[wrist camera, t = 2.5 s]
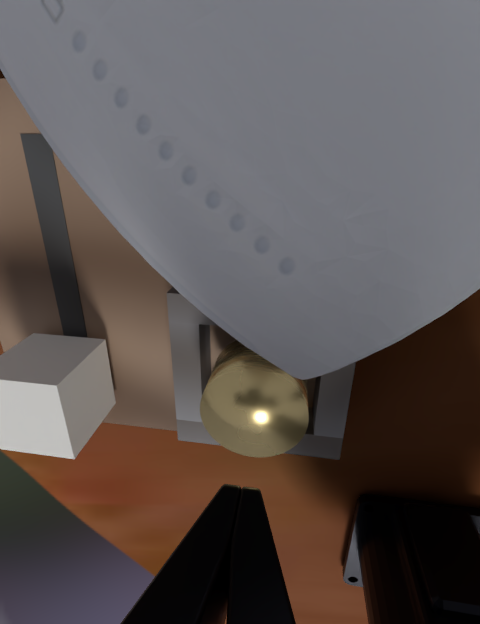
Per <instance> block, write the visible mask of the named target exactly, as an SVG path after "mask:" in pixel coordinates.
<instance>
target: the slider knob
mask: <svg viewBox="0 0 480 624" xmlns="http://www.w3.org/2000/svg"><path fill="white" fill-rule="evenodd" d="M115 403H116V401H115V395H114V389H113V383H112V377H111V371H110V365H109V358H108V352H107V346H106V340H105V339H96V338H85V337H73V336H61V335H50V334H38V333H33V334H31V335H30V336H28V337H27V338H26V339H24V340H23V341H21V342H20V343H18V344H17V345H15V346H14V347H12V348H11V349H9V350H8V351H6V352H5V353H3V354H2V355H0V449H3V450H11V451H18V452H25V453H33V454H40V455H48V456H55V457H62V458H70V459H75V458H76V456H77V455H78V454H79V452H80V451H81V450H82V448H83V447H84V445H85V444H86V443H87V441H88V440H89V439H90V437H91V436H92V435H93V433H94V432H95V431H96V429H97V428H98V426H99V425H100V424H101V422H102V421H103V420H104V418H105V417H106V416H107V414H108V413H109V412H110V410H111V409H112V407H113V406H114V405H115Z"/></svg>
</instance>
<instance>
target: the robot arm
mask: <svg viewBox="0 0 480 624" xmlns="http://www.w3.org/2000/svg"><path fill="white" fill-rule="evenodd" d="M343 579H344V581H345V583H347V584H349V585H354V586H360V587H363V589H364V596H365V603H366V610H367V616H368V623H369V624H480V509H477V508H469V507H462V506H454V505H447V504H439V503H432V502H424V501H417V500H409V499H402V498H394V497H387V496H379V495H372V494H364V495H361V496H360V497H358V499H357V503H356V508H355V513H354V517H353V522H352V527H351V532H350V537H349V541H348V546H347V551H346V556H345V561H344V566H343ZM226 615H227V624H296V623H295V619H294V615H293V612H292V608H291V604H290V600H289V596H288V593H287V589H286V585H285V581H284V578H283V574H282V570H281V566H280V562H279V559H278V555H277V551H276V547H275V544H274V540H273V536H272V532H271V528H270V525H269V521H268V517H267V513H266V509H265V506H264V502H263V498H262V494H261V491H260V490H259V489H258V488H251V487H243V488H242V490H241V487H240V486H236V485H229V484H224V485H223V486H222V487H221V488H220V489H219V491H218V492H217V493H216V495H215V496H214V497H213V499H212V500H211V502H210V503H209V504H208V506H207V507H206V508H205V510H204V511H203V512H202V514H201V515H200V516H199V518H198V519H197V521H196V522H195V523H194V525H193V526H192V527H191V529H190V530H189V531H188V533H187V534H186V536H185V537H184V538H183V540H182V541H181V542H180V544H179V545H178V546H177V548H176V549H175V550H174V552H173V553H172V555H171V556H170V557H169V559H168V560H167V561H166V563H165V564H164V565H163V567H162V568H161V569H160V571H159V572H158V574H157V575H156V576H155V578H154V579H153V581H152V582H151V583H150V584H149V586H148V587H147V589H146V590H145V591H144V593H143V594H142V595H141V597H140V598H139V599H138V601H137V602H136V603H135V605H134V606H133V608H132V609H131V610H130V612H129V613H128V614H127V616H126V617H125V618H124V620H123V621H122V622H121V624H224V623H225V619H226Z"/></svg>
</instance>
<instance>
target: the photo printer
mask: <svg viewBox="0 0 480 624" xmlns="http://www.w3.org/2000/svg"><path fill="white" fill-rule="evenodd" d="M0 69H1V71H2V73H3V75H4V77H5V78H6V80H7V81H8V83H9V85H10V86H11V88H12V89H13V91H14V92H15V94H16V96H17V97H18V99H19V100H20V102H21V103H22V105H23V107H24V108H25V110H26V111H27V113H28V114H29V116H30V118H31V119H32V121H33V122H34V124H35V125H36V127H37V128H38V130H39V131H40V132H41V134H42V135H43V137H44V138H45V139H46V141H47V142H48V144H49V145H50V147H51V148H52V149H53V151H54V152H55V154H56V155H57V157H58V158H59V159H60V161H61V162H62V164H63V165H64V166H65V167H66V169H67V170H68V171H69V173H70V174H71V175H72V176H73V178H74V179H75V180H76V181H77V183H78V184H79V185H80V187H81V188H82V189H83V190H84V192H85V193H86V194H87V195H88V196H89V198H90V199H91V200H92V201H93V202H94V204H95V205H96V206H97V207H98V208H99V210H100V211H101V212H102V213H103V214H104V216H105V217H106V218H107V219H108V220H109V221H110V222H111V224H112V225H113V226H114V227H115V228H116V229H117V231H118V232H119V233H120V234H121V235H122V236H123V237H124V238H125V239H126V240H127V241H128V242H129V243H130V244H131V245H132V246H133V247H134V248H135V249H136V250H137V251H138V252H139V254H140V255H141V256H142V257H143V258H144V259H145V260H146V261H147V262H148V263H149V264H150V265H151V266H152V267H153V268H154V269H155V270H156V271H157V272H158V273H159V274H160V275H161V276H162V277H164V278H165V279H166V280H167V281H168V282H169V283H170V284H171V285H172V286H173V287H174V288H175V289H176V290H177V291H178V292H179V293H180V294H181V295H182V296H183V297H185V298H186V299H187V300H188V301H189V302H190V303H192V304H193V305H194V306H195V307H196V308H197V309H198V310H200V311H201V312H202V313H203V314H204V315H206V316H207V317H208V318H209V319H211V320H212V321H213V322H214V323H216V324H217V325H218V326H219V327H221V328H222V329H223V330H225V331H226V332H227V333H228V334H230V335H231V336H232V337H234V338H235V339H236V340H238V341H239V342H240V343H242V344H243V345H244V346H246V347H247V348H249V349H250V350H252V351H254V352H255V353H257V354H258V355H260V356H261V357H263V358H264V359H266V360H268V361H269V362H271V363H272V364H274V365H275V366H277V367H279V368H280V369H282V370H283V371H285V372H286V373H288V374H289V375H291V376H292V377H295V378H297V379H301V380H304V379H310V378H314V377H318V376H321V375H324V374H327V373H330V372H333V371H336V370H339V369H341V368H343V367H345V366H347V365H350V364H352V363H354V362H356V361H359V360H361V359H363V358H365V357H367V356H369V355H371V354H373V353H375V352H378V351H380V350H382V349H384V348H386V347H388V346H390V345H392V344H394V343H396V342H398V341H400V340H402V339H403V338H405V337H407V336H408V335H410V334H412V333H413V332H415V331H417V330H419V329H420V328H422V327H424V326H425V325H427V324H429V323H430V322H432V321H434V320H435V319H437V318H439V317H440V316H442V315H444V314H445V313H447V312H448V311H449V310H451V309H452V308H454V307H455V306H457V305H458V304H459V303H461V302H462V301H464V300H465V299H466V298H468V297H469V296H471V295H472V294H473V293H474V292H476V291H477V290H478V289H480V0H0Z"/></svg>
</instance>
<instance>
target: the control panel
mask: <svg viewBox="0 0 480 624" xmlns="http://www.w3.org/2000/svg"><path fill="white" fill-rule="evenodd" d="M33 333H38V334H50V335H61V336H73V337H85V338H96V339H105V340H106V346H107V352H108V358H109V365H110V371H111V377H112V383H113V389H114V395H115V401H116V403H115V405H114V406H113V407H112V409H111V410H110V412H109V413H108V414H107V416H106V417H105V418H104V420H103V421H102V422H106V423H114V424H123V425H131V426H139V427H148V428H156V429H165V430H173V431H177V432H178V440H182V441H190V442H198V443H206V444H214V445H220V444H219V443H218V442H217V441H215V440H214V439H213V438H212V437H211V435H210V434H209V433H208V432H207V430H206V428H205V427H204V424H203V422H202V419H201V416H200V402H201V398H202V395H203V393H204V390H205V388H206V385H207V383H208V380H209V378H210V375H211V373H212V370H213V368H214V365H215V363H216V360H217V358H218V356H219V354H220V353H221V352H222V350H223V349H224V348H225V347H226V346H227V345H229V344H230V343H232V342H234V341H236V339H235V338H234V337H232V336H231V335H230V334H228V333H227V332H226V331H225V330H223V329H222V328H221V327H219V326H218V325H217V324H216V323H214V322H213V321H212V320H211V319H209V318H208V317H207V316H206V315H204V314H203V313H202V312H201V311H200V310H198V309H197V308H196V307H195V306H194V305H193V304H192V303H190V302H189V301H188V300H187V299H186V298H185V297H183V296H182V295H181V294H180V293H179V292H178V291H177V290H176V289H175V288H174V287H173V286H172V285H171V284H170V283H169V282H168V281H167V280H166V279H165V278H164V277H162V276H161V275H160V274H159V273H158V272H157V271H156V270H155V269H154V268H153V267H152V266H151V265H150V264H149V263H148V262H147V261H146V260H145V259H144V258H143V257H142V256H141V255H140V254H139V252H138V251H137V250H136V249H135V248H134V247H133V246H132V245H131V244H130V243H129V242H128V241H127V240H126V239H125V238H124V237H123V236H122V235H121V234H120V233H119V232H118V231H117V229H116V228H115V227H114V226H113V225H112V224H111V222H110V221H109V220H108V219H107V218H106V217H105V216H104V214H103V213H102V212H101V211H100V210H99V208H98V207H97V206H96V205H95V204H94V202H93V201H92V200H91V199H90V198H89V196H88V195H87V194H86V193H85V192H84V190H83V189H82V188H81V187H80V185H79V184H78V183H77V181H76V180H75V179H74V178H73V176H72V175H71V174H70V173H69V171H68V170H67V169H66V167H65V166H64V165H63V164H62V162H61V161H60V159H59V158H58V157H57V155H56V154H55V152H54V151H53V149H52V148H51V147H50V145H49V144H48V142H47V141H46V139H45V138H44V137H43V135H42V134H41V132H40V131H39V130H38V128H37V127H36V125H35V124H34V122H33V121H32V119H31V118H30V116H29V114H28V113H27V111H26V110H25V108H24V107H23V105H22V103H21V102H20V100H19V99H18V97H17V96H16V94H15V92H14V91H13V89H12V88H11V86H10V85H9V83H8V81H7V80H6V78H0V341H1V344H2V348H3V351H4V353H5V352H6V351H8V350H9V349H11V348H12V347H14V346H15V345H17V344H18V343H20V342H21V341H23V340H24V339H26V338H27V337H28V336H30V335H31V334H33ZM355 364H356V362H354V363H352V364H350V365H347V366H345V367H343V368H341V369H339V370H336V371H333V372H330V373H327V374H324V375H321V376H318V377H314V378H310V379H307V384H308V410H309V422H308V427H307V430H306V433H305V435H304V436H303V438H302V439H301V440H300V442H299V443H298V444H297V445H295V446H294V447H293V448H291V449H290V450H288V451H286V452H284V453H288V454H296V455H304V456H312V457H320V458H329V459H337V460H340V454H341V448H342V442H343V436H344V430H345V424H346V418H347V412H348V406H349V400H350V394H351V388H352V382H353V376H354V370H355Z"/></svg>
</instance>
